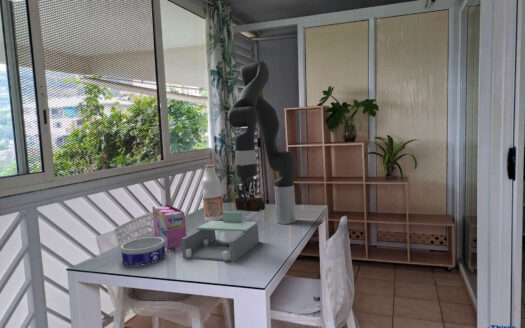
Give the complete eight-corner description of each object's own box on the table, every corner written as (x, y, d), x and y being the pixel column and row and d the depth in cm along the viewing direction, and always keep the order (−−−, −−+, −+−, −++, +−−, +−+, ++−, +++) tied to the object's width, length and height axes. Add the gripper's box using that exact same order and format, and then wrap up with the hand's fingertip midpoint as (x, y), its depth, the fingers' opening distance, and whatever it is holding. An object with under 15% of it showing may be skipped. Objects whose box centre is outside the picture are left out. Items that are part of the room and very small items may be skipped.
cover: (210, 222, 154) (209, 211, 153) (257, 223, 146) (256, 212, 145) (197, 229, 144) (196, 217, 144) (246, 231, 136) (245, 219, 136)
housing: (212, 239, 155) (211, 222, 154) (259, 241, 147) (257, 224, 146) (180, 258, 133) (178, 239, 133) (232, 263, 125) (231, 242, 125)
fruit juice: (201, 220, 190) (196, 166, 187) (215, 216, 196) (211, 163, 193) (212, 222, 183) (207, 166, 180) (227, 218, 189) (222, 164, 186)
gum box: (153, 235, 167) (150, 206, 165) (170, 232, 171) (168, 203, 169) (168, 249, 146) (165, 215, 145) (187, 244, 150) (184, 211, 149)
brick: (235, 210, 136) (234, 197, 136) (242, 208, 140) (241, 195, 139) (259, 212, 130) (258, 199, 130) (265, 210, 134) (264, 197, 133)
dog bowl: (150, 249, 148) (148, 234, 147) (174, 255, 138) (172, 239, 137) (114, 261, 136) (112, 245, 135) (137, 269, 126) (135, 252, 126)
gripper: (244, 161, 142) (247, 205, 143) (228, 165, 128) (231, 213, 130) (262, 160, 139) (265, 205, 140) (248, 164, 126) (251, 214, 127)
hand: (249, 209), depth 135 cm, fingers closed on brick, 4 cm apart
